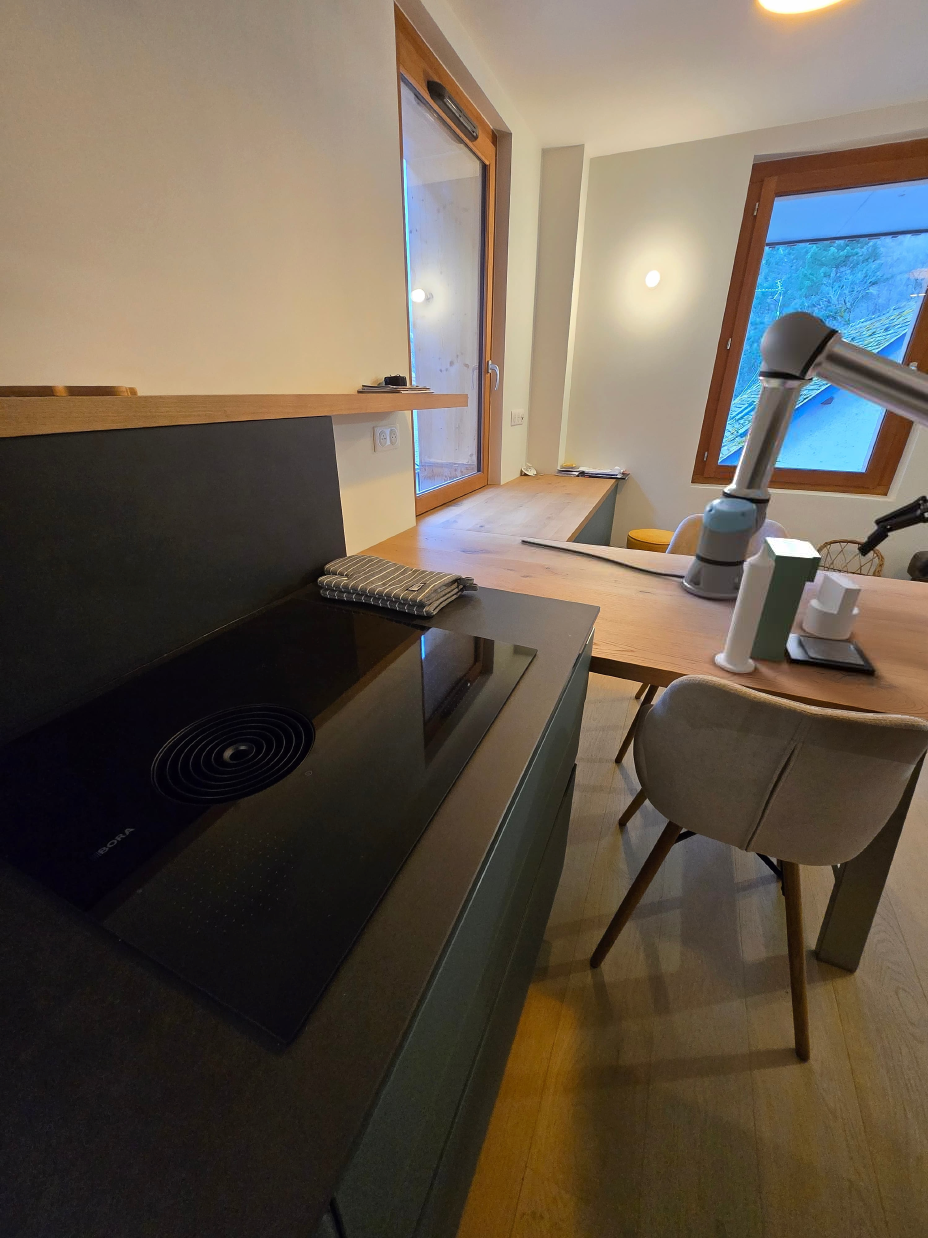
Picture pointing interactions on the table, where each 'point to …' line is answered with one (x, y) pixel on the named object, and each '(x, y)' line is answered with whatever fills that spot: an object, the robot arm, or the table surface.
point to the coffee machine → (780, 609)
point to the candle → (747, 614)
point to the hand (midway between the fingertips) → (888, 562)
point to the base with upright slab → (833, 608)
